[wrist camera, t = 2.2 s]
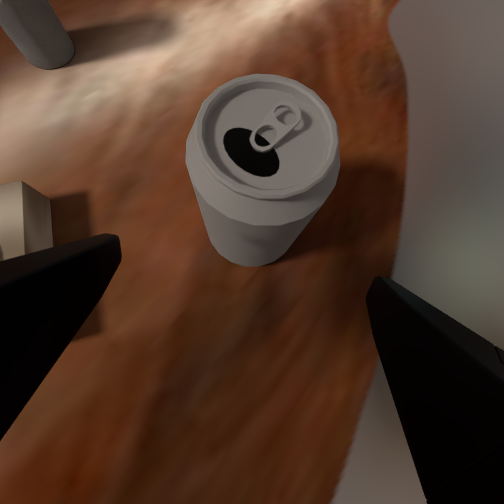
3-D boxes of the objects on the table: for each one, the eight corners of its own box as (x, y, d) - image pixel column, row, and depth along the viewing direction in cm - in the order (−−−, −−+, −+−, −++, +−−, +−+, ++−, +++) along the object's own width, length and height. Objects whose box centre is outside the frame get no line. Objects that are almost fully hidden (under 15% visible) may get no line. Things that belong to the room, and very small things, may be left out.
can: (188, 226, 22) (138, 123, 10) (249, 171, 24) (264, 31, 12) (252, 287, 21) (274, 250, 9) (310, 226, 23) (390, 130, 11)
